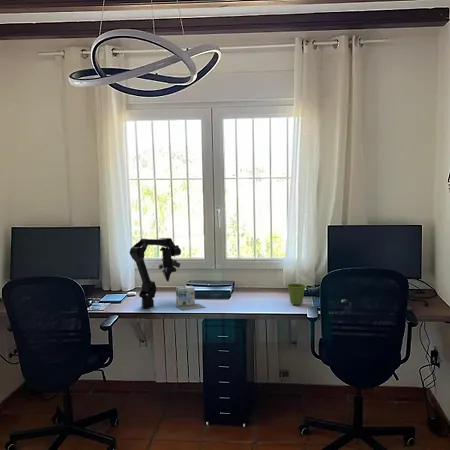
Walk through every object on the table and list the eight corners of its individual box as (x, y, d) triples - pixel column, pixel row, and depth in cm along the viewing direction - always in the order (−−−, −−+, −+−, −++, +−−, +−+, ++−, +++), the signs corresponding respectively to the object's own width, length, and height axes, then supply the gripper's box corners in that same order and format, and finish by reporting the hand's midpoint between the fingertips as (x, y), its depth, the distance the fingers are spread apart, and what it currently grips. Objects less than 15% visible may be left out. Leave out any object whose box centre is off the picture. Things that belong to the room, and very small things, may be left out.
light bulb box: (178, 306, 321) (178, 288, 320) (175, 303, 327) (175, 286, 326) (195, 304, 325) (194, 287, 324) (192, 302, 331) (191, 285, 330)
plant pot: (290, 306, 313) (290, 287, 313) (284, 302, 325) (284, 284, 324) (309, 304, 316) (309, 286, 315) (302, 300, 327) (302, 283, 326)
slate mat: (182, 310, 309) (182, 310, 309) (176, 306, 319) (176, 306, 319) (205, 307, 315) (205, 307, 315) (199, 304, 325) (199, 303, 325)
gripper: (183, 258, 328) (184, 282, 329) (174, 254, 345) (175, 278, 346) (166, 259, 323) (167, 284, 324) (158, 256, 340) (158, 279, 341)
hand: (167, 281), depth 334 cm, fingers closed
